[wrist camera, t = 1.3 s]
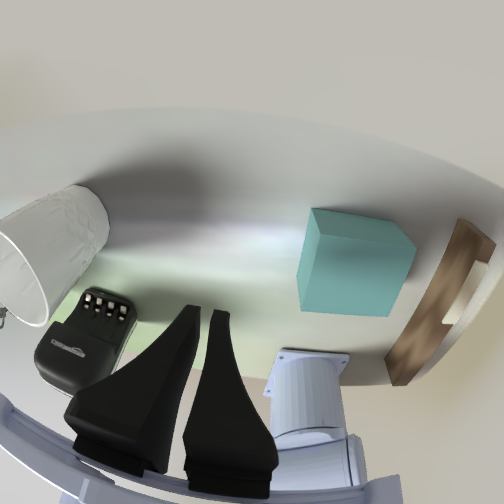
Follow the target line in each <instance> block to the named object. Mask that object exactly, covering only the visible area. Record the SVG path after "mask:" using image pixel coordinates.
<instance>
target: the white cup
mask: <svg viewBox="0 0 504 504" xmlns="http://www.w3.org/2000/svg"><path fill="white" fill-rule="evenodd" d="M109 230H110V226H109V221H108V215H107V212H106V210H105V208H104V206H103V204H102V203H101V201H100V199H99V198H98V197H97V196H96V195H95V194H94V193H93V192H91V191H90V190H89V189H88V188H86V187H82V186H77V185H71V186H69V187H67V188H65V189H62V190H60V191H58V192H56V193H53V194H48V195H46V196H44V197H42V198H40V199H37V200H35V201H33V202H31V203H29V204H28V205H26V206H24V207H22V208H20V209H18V210H16V211H15V212H13V213H11V214H9V215H8V216H6V217H4V218H3V219H1V220H0V301H1V302H2V303H3V305H4V306H5V307H6V308H7V309H8V310H9V311H10V312H11V313H12V314H13V315H14V316H16V317H17V318H18V319H20V320H21V321H23V322H24V323H26V324H28V325H31V326H34V327H42V326H44V325H46V324H47V323H48V321H49V320H50V318H51V317H52V315H53V314H54V312H55V311H56V309H57V308H58V307H59V305H60V304H61V302H62V301H63V300H64V298H65V297H66V296H67V294H68V293H69V292H70V290H71V289H72V288H73V286H74V285H75V284H76V282H77V281H78V280H79V279H80V277H81V276H82V275H83V273H84V272H85V270H86V269H87V268H88V266H89V265H90V264H91V261H92V260H93V258H94V257H95V256H96V254H97V253H98V252H99V251H100V250H101V249H102V248H103V246H104V245H105V244H106V243H107V239H108V235H109Z"/></svg>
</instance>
